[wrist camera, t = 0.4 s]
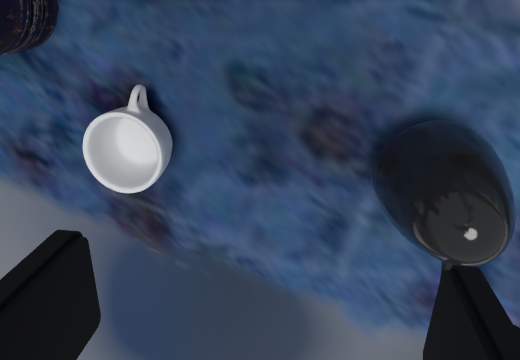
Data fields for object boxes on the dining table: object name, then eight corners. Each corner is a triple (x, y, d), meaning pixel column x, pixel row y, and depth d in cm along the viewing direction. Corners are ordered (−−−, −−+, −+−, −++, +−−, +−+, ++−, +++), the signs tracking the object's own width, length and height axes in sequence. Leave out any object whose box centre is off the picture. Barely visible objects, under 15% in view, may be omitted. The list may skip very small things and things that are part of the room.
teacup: (174, 180, 44) (156, 202, 39) (105, 160, 44) (78, 180, 39) (190, 89, 40) (172, 102, 35) (114, 68, 40) (86, 77, 35)
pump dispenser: (356, 199, 42) (375, 296, 29) (384, 100, 38) (422, 157, 24) (457, 219, 42) (526, 327, 28) (496, 120, 38) (601, 190, 24)
